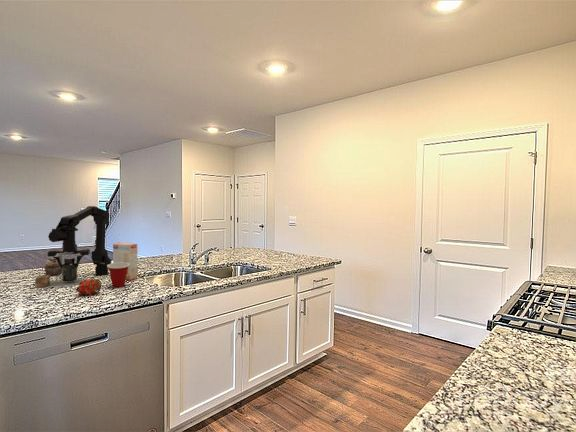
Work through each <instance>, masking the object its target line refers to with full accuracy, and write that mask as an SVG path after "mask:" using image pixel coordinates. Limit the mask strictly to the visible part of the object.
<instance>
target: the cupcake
mask: <svg viewBox="0 0 576 432" xmlns="http://www.w3.org/2000/svg"><path fill="white" fill-rule="evenodd" d="M44 271H45V275H50V277H58V276H62V269H61V267H60V265H59V263H58V262H57V260H56V259H55V258H53V259H52V258H48V259H47V260H46V263H45V265H44ZM57 275H58V276H57Z"/></svg>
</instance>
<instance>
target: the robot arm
mask: <svg viewBox="0 0 576 432" xmlns="http://www.w3.org/2000/svg"><path fill="white" fill-rule="evenodd" d="M90 216H91V217H92V218H93V222H94V223H95V226H96V228H95V230H96V231H95V249H94V250H93V251H91V249H90V248H81V249H79V250H78V243H76V232H78V231H79V229H78V228H77V226H78V225H79V224H80V223H81V221H83V220H85V219H86V218H88V217H90ZM109 218H110V213H109V211H108V210H104V209H103V208H99V207H97V206H95V205H94V206H93V205H90V206H89V205H88V206H86V207H85V208H83V209H82V210H80V211H77V212H75V213H74V214H70V215H69V214H68V215H65V216H62V217H60V220H59V222H58V224H57V225H56V228H51V231H50V232H49V233H48V235H47V236H48V240H49V241H50V242H52V243H57V242H62V246H61V248H62V250H59V249H51V250H49V251H47V257H52V259H54V258H55V259H56V260H57V262H58V263H59V265H60V267H61V269H62V265H63V264H64V263H63V255H77V256H76V262H75V263H76V267H77V269H78V268H79V265H80V262H81V260H82V258H83V257H85V256H89V255H90V254H91V257H90V259H91V261H92V263H93V265H94V266H95V268H94V269H95V276H107V275H109V274H110V272H109V269H108V267H107V265H108V264H111V263H112V259H111V258H110V257H109V254H108V250H107V249H106V225H107V223H108V222H109Z"/></svg>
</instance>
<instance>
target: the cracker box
mask: <svg viewBox="0 0 576 432" xmlns="http://www.w3.org/2000/svg"><path fill="white" fill-rule="evenodd" d="M112 246H113V247H112V249H113V250H112V253H113V255H112V257H113V258H112V259H113V260H112V261H113V262H112V263H118V262H124V263H129V266H128V270H127V275H126V280H127V281H132V280H136V279H138V244H137V243H130V242H129V243H128V242H114V243H113V245H112ZM126 280H125V281H126Z"/></svg>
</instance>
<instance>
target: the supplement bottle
mask: <svg viewBox="0 0 576 432" xmlns="http://www.w3.org/2000/svg"><path fill="white" fill-rule="evenodd" d="M63 262H64V263H62V264H63V265H62V274H61V277H62V279H61V280H63V281H74V280H77V279H78V268H77V267H76V263H77V262H76V258H75V257H65V258H64V261H63Z"/></svg>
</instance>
